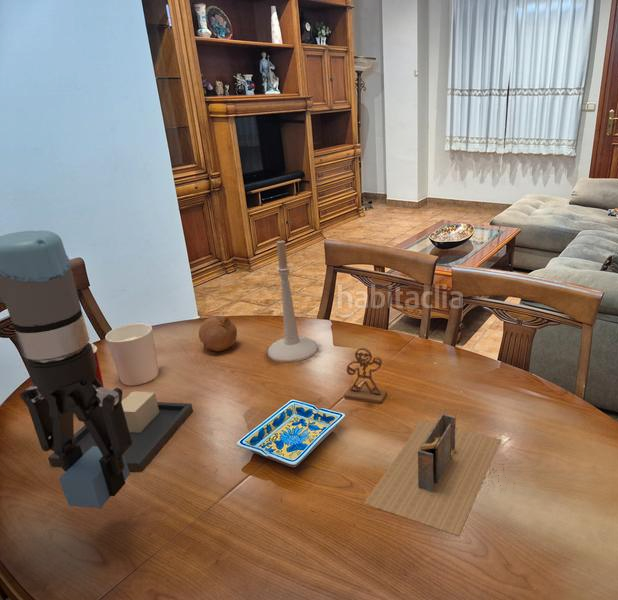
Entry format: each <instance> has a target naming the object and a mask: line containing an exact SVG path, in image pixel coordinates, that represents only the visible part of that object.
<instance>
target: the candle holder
mask: <svg viewBox="0 0 618 600" xmlns="http://www.w3.org/2000/svg"><path fill="white" fill-rule="evenodd" d="M105 341H106V344H107V345H108V348H109V352H110V354H111V357H112V360H113V363H114V367H115V369H116V372H117V374H118V377H119V380H120V383H122V384H123V385H125V386H131V387H132V386H133V387H134V386H139V385H140V386H141V385H143V384H144V385H145V384H146V383H149V382H151V381H153V380H155V379H156V378H157V377H158V375H159V365H158V359H157V352H156V346H155V345H156V344H155V339H154V331H153V326H152V325H151V324H148V323H142V322H139V323H137V322H136V323H129V324H124V325H120V326H118V327H115V328H113V329H111V330H109V331H108V332H107V333H106V335H105Z"/></svg>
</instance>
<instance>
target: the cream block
mask: <svg viewBox="0 0 618 600" xmlns="http://www.w3.org/2000/svg"><path fill="white" fill-rule="evenodd" d="M122 400H123V401H121V403H122V407H123V410H124V414H125V418H126V421H127V425H128V429H129V432H136V433H141V432H142V430H143V429H144V428H145V427H146V426H147V425H148V424H149V423H150V422H151V421H152V420H153V419H154V418H155V417H156V416H157V415H158V414H159V408H158V404H157V402H158V400H157V396H156V392H154V391H153V392H152V391H133V390H132V391H131V392H130V393H129V394H128V395H127V396H126V397H125V398H123V399H122Z"/></svg>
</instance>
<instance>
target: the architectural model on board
mask: <svg viewBox="0 0 618 600" xmlns="http://www.w3.org/2000/svg"><path fill="white" fill-rule="evenodd" d="M456 419H457V417H456V416H453V415H448V414H445V413H442V414H441V415H440V417H439V418H438V420H437V421H436V422H433V421H429V420H425V419H422V420H420V422H419V424H418V425H417V427H416V428H415V429H414V431H413V432H412V434H411V435H410V436H409V438H408V439H407V441H406V442H405V443H404V445H403V447H402V448H401V449H400V450H399V452H398V453H397V455H396V456H395V458H394V460H393V461H392V462H391V463H390V465H389V467H388V468H387V469H386V471H385V472H384V474H382V476H381V478H380V479H379V481H378V482H377V483H376V485H375V487H374V488H373V490H372V491H371V492H370V494H368V496H367V498H366V500H364V502H363V504H364V505H367V506H370V507H373V508H376V509H378V510H382V511H385V512H387V513H390V514H394V515H396V516H399V517H402V518H406V519H409V520H411V521H414V522H417V523H420V524H423V525H425V526H429V527H431V528H434V529H437V530H440V531H444V532H446V533H450V534H453V535H456V536H458V537H459V536H460V535H461V532H462V531H463V528H464V526H465V523H466V521H467V518H468V516H469V513H470V511H471V510H472V507H473V505H474V503H475V500H476V498H477V496H478V493H479V491H480V489H481V487H482V484H483V482H484V480H485V477H486V475H487V472H488V470H489V468H490V466H491V464H492V462H493V460H494V457H495V455H496V453H497V451H498V447H499V446H500V443H501V441H502V439H500V438H496V437H493V436H488V435H485V434H481V433H476V432H473V431H468V430H466V429H465V430H464V429H460V428H456V424H457V423H456Z"/></svg>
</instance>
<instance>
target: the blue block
mask: <svg viewBox="0 0 618 600" xmlns="http://www.w3.org/2000/svg"><path fill="white" fill-rule="evenodd" d="M102 457H103V455H102V453H101V452H100V450H99V448H98V447H97V446H92V447H91V448H90V449H89V450H88V451H87V452H86V453H85V454H84V455H83V456H82V457H81V458H80V459H79V460H78V461H77V462H76V463H75V464H74V465H73V466H72V467H70V468H69V469H68V470H67V471H64V473H63V474H62V475H61V476H60V477H59V482H60V484H61V488H62V491H63V494H64V497H65V500H66V502H67V505H68V506H69V507H70V506H71V507H80V508H93V509H102V507H103V506H104V505H105V504H106V503H107V502H108V500H109V499H110V498H111V497H112V496H110V495H109V492H108V488H107V485H106V482H105V478H104V475H103V471H102V469H101V465H100V462H99V460H100V459H101V458H102ZM122 458H123V462H124V466H125V467H124V469H123V471H122V472H123V476H124V479H125V480H127V479H128V477H129V476H130V475H131V474H130V471H129V469H128V466H127V462H126V458H125V454H123V455H122Z"/></svg>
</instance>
